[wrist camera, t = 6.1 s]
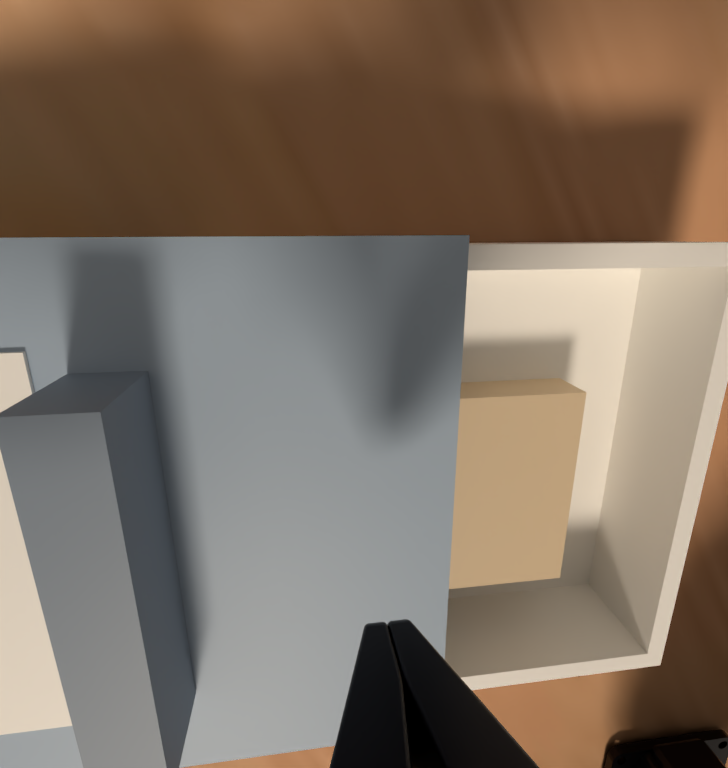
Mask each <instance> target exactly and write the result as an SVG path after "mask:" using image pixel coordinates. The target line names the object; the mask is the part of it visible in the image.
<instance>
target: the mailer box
mask: <svg viewBox="0 0 728 768" xmlns="http://www.w3.org/2000/svg"><path fill="white" fill-rule="evenodd" d="M727 382H728V242H515V243H469V254H468V271H467V288H466V305H465V322H464V339H463V356H462V373H461V390H460V407H459V424H458V441H457V458H456V475H455V492H454V509H453V526H452V543H451V560H450V577H449V594H448V611H447V628H446V645H445V661H446V662H447V663H448V664H449V665H450V666H451V668H452V669H453V670H454V671H455V672H456V673H457V674H458V675H459V677H460V678H461V679H462V680H463V681H464V682H465V683H466V685H467V686H468V687H469V688H470V689H471V690H477V689H484V688H492V687H499V686H507V685H515V684H522V683H530V682H537V681H545V680H553V679H560V678H568V677H575V676H583V675H591V674H598V673H606V672H613V671H621V670H629V669H636V668H644V667H651V666H659V665H661V661H662V656H663V652H664V648H665V644H666V639H667V635H668V631H669V627H670V623H671V618H672V614H673V610H674V606H675V601H676V597H677V593H678V589H679V585H680V580H681V576H682V572H683V568H684V563H685V559H686V555H687V551H688V547H689V542H690V538H691V534H692V530H693V525H694V521H695V517H696V513H697V509H698V504H699V500H700V496H701V492H702V487H703V483H704V479H705V475H706V471H707V466H708V462H709V458H710V454H711V449H712V445H713V441H714V437H715V433H716V428H717V424H718V420H719V416H720V412H721V407H722V403H723V399H724V395H725V390H726V386H727Z"/></svg>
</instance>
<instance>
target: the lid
mask: <svg viewBox="0 0 728 768" xmlns="http://www.w3.org/2000/svg"><path fill="white" fill-rule="evenodd" d="M469 237H470V235H418V236H226V237H35V238H0V768H181V767H188V766H195V765H202V764H209V763H216V762H223V761H231V760H238V759H245V758H252V757H259V756H266V755H273V754H280V753H287V752H294V751H301V750H308V749H315V748H322V747H329V746H335V744H336V740H337V736H338V732H339V728H340V723H341V719H342V715H343V711H344V707H345V703H346V699H347V695H348V691H349V687H350V683H351V678H352V674H353V670H354V666H355V662H356V658H357V654H358V650H359V646H360V642H361V638H362V633H363V629H364V626H365V625H366V624H368V623H376V622H385V623H386V624H388V622H390V621H394V620H403V619H408V620H410V621H411V622H412V623H413V624H414V625H415V626H416V628H417V629H418V630H419V631H420V632H421V633H422V634H423V636H424V637H425V638H426V639H427V640H428V641H429V642H430V644H431V645H432V646H433V647H434V648H435V649H436V650H437V652H438V653H439V654H440V655H441V656H442V657H443V658H444V660H445V645H446V628H447V611H448V594H449V577H450V560H451V543H452V526H453V509H454V492H455V475H456V458H457V441H458V424H459V407H460V390H461V373H462V356H463V339H464V322H465V305H466V288H467V271H468V254H469Z"/></svg>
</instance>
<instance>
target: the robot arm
mask: <svg viewBox="0 0 728 768" xmlns="http://www.w3.org/2000/svg"><path fill="white" fill-rule="evenodd" d="M727 757H728V735H727V734H726V733H725V732H724V731H723V730H714V731H707V732H701V733H694V734H688V735H681V736H674V737H668V738H661V739H655V740H648V741H642V742H635V743H629V744H622V745H617V746H614V747H612V748H611V749H610V750H609V751H608V753H607V758H606V763H605V767H604V768H726V767H725V763H726V760H727ZM330 768H539V767H538V766H537V765H536V763H535V762H534V761H533V760H532V759H531V758H530V757H529V755H528V754H527V753H526V752H525V751H524V750H523V749H522V747H521V746H520V745H519V744H518V743H517V742H516V741H515V739H514V738H513V737H512V736H511V735H510V734H509V733H508V731H507V730H506V729H505V728H504V727H503V726H502V725H501V723H500V722H499V721H498V720H497V719H496V718H495V717H494V715H493V714H492V713H491V712H490V711H489V710H488V709H487V707H486V706H485V705H484V704H483V703H482V702H481V701H480V699H479V698H478V697H477V696H476V695H475V694H474V693H473V691H472V690H471V689H470V688H469V687H468V686H467V685H466V683H465V682H464V681H463V680H462V679H461V678H460V677H459V675H458V674H457V673H456V672H455V671H454V670H453V669H452V668H451V666H450V665H449V664H448V663H447V662H446V661H445V660H444V658H443V657H442V656H441V655H440V654H439V653H438V652H437V650H436V649H435V648H434V647H433V646H432V645H431V644H430V642H429V641H428V640H427V639H426V638H425V637H424V636H423V634H422V633H421V632H420V631H419V630H418V629H417V628H416V626H415V625H414V624H413V623H412V622H411V621H410V620H408V619H403V620H394V621H390V622H388V624H386V623H385V622H376V623H368V624H366V625H365V626H364V629H363V633H362V638H361V642H360V646H359V650H358V654H357V658H356V662H355V666H354V670H353V674H352V678H351V683H350V687H349V691H348V695H347V699H346V703H345V707H344V711H343V715H342V719H341V723H340V728H339V732H338V736H337V740H336V744H335V748H334V752H333V756H332V760H331V764H330Z"/></svg>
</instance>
